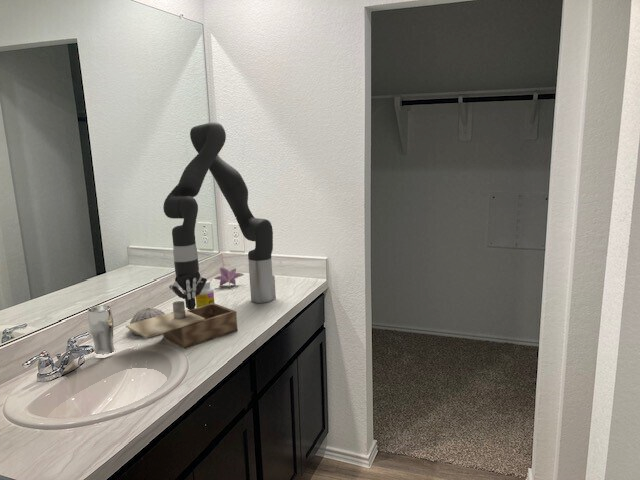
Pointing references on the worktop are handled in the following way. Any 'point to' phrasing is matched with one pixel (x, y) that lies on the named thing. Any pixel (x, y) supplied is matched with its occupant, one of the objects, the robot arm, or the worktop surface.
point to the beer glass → (101, 328)
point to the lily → (228, 276)
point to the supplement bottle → (205, 295)
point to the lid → (165, 321)
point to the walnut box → (204, 326)
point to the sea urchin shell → (145, 315)
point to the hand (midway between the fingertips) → (191, 309)
